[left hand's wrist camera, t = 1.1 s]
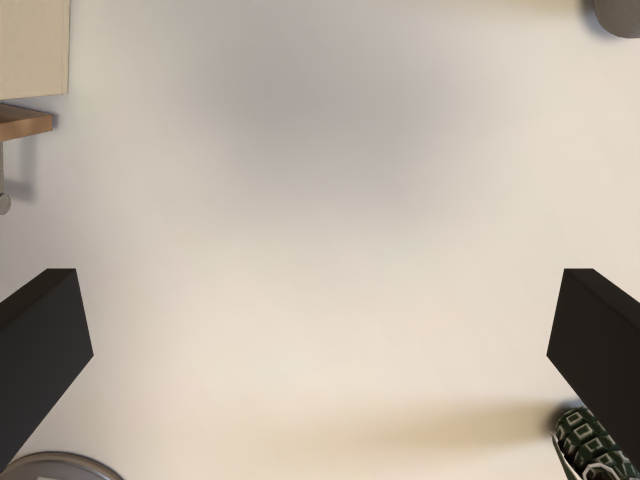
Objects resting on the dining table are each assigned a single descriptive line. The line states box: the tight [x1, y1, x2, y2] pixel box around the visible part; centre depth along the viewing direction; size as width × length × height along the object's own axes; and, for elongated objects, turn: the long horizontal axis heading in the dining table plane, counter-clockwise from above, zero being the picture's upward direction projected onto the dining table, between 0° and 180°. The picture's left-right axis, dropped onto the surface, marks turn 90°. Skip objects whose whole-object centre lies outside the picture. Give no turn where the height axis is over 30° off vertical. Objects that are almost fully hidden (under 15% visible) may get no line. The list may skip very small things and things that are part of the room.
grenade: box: [551, 406, 640, 480], centre depth 40 cm, size 7×6×10 cm
